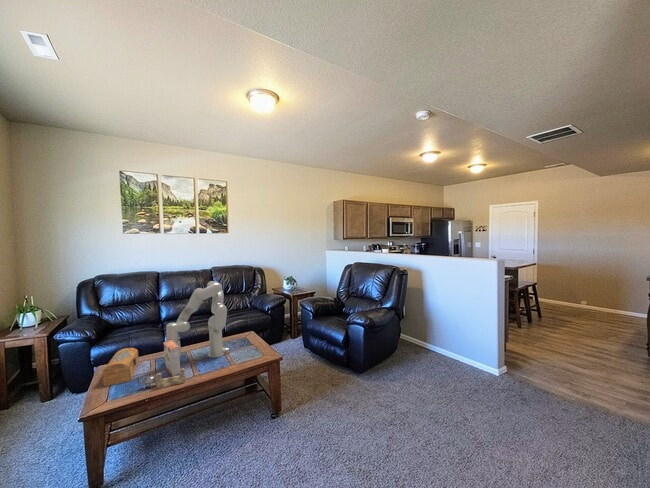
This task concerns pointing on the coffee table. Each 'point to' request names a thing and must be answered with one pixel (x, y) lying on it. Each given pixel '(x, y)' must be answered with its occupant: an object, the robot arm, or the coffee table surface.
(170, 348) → the cracker box
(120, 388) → the coffee table surface
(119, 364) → the wooden box
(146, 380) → the winch
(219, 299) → the robot arm
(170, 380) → the bay
